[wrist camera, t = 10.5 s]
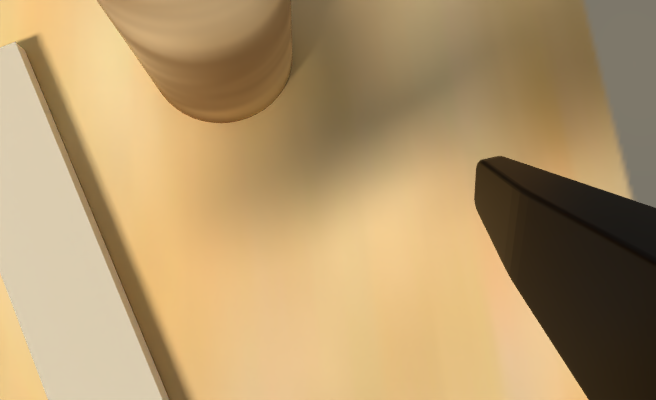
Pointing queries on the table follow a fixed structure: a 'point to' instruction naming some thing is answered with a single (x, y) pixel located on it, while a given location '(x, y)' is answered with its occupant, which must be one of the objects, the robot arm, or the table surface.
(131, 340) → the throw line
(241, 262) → the table surface
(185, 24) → the skittle
